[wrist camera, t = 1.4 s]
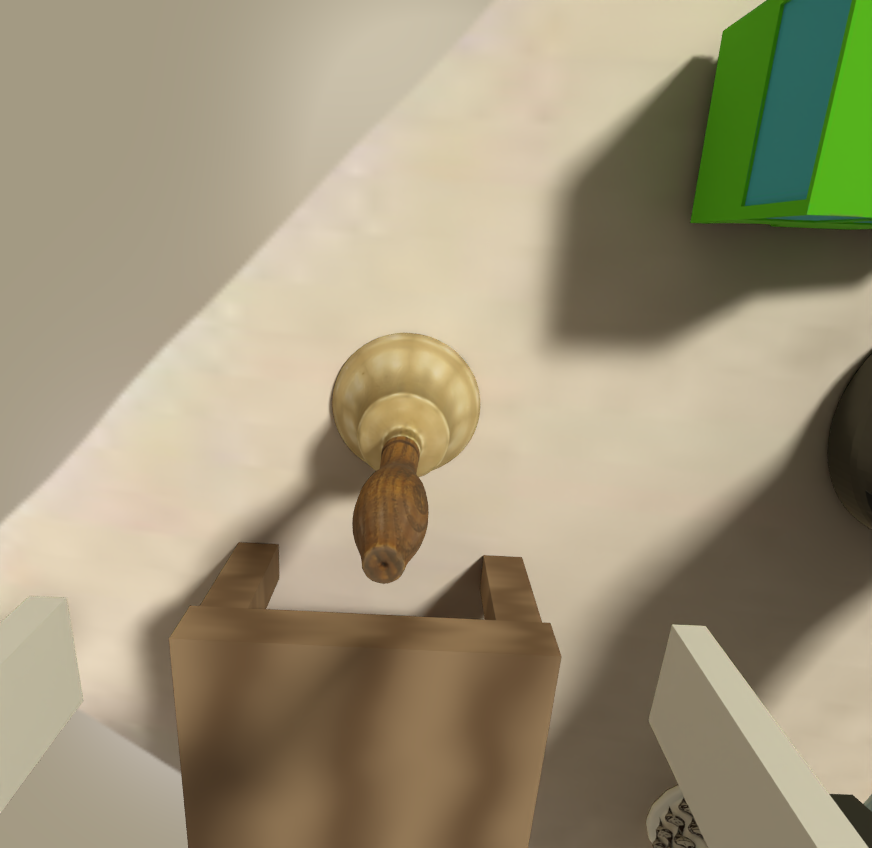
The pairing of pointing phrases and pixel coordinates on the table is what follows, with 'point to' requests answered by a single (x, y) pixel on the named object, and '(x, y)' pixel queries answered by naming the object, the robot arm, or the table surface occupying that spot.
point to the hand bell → (401, 438)
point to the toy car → (791, 119)
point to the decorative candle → (673, 823)
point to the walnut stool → (360, 717)
